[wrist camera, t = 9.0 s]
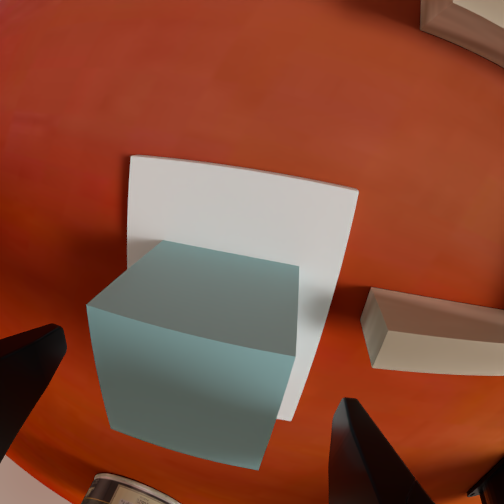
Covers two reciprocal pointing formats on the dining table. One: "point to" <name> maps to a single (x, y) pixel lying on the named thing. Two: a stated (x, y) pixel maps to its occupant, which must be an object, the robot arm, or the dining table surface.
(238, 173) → the white flat slab
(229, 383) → the teal cube
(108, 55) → the dining table surface
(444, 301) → the birch cubby
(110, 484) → the coffee can
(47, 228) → the dining table surface
